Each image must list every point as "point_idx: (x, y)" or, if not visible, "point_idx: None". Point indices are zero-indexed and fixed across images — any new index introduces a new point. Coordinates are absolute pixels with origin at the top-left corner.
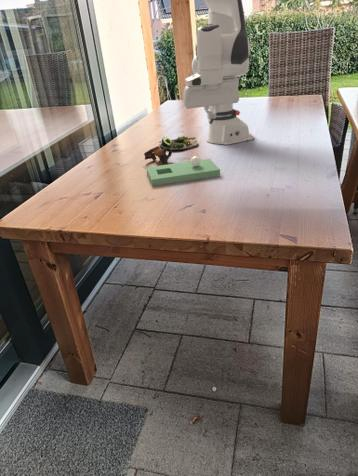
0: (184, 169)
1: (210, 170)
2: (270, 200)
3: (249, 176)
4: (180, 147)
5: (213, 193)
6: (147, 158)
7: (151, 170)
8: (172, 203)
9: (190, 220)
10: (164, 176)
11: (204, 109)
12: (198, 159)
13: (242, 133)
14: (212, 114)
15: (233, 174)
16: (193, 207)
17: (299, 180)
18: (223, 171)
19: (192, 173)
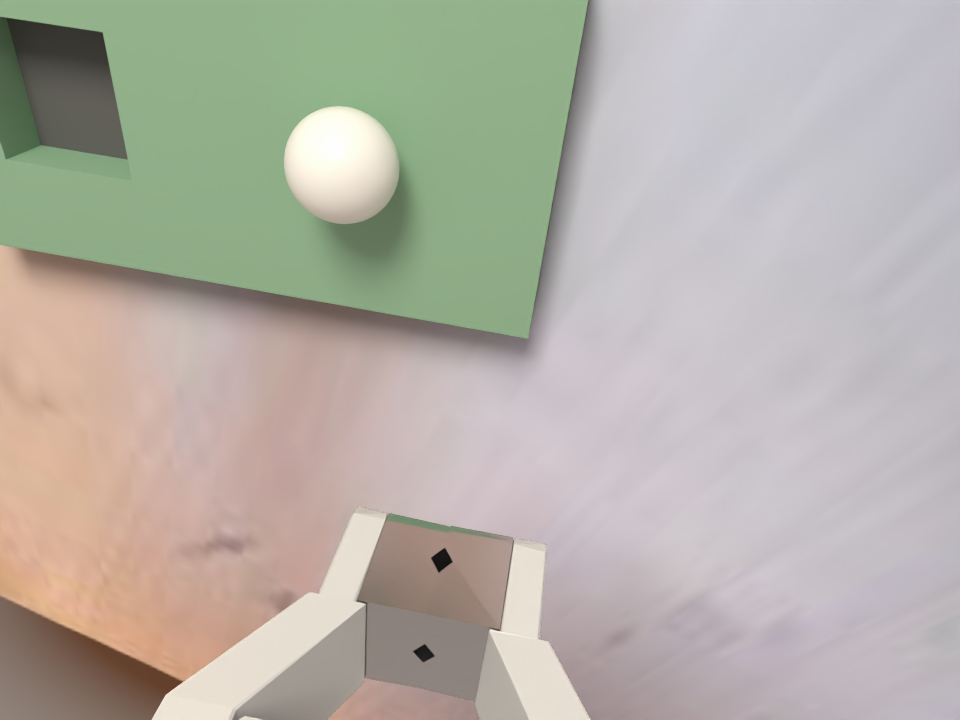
0: (240, 167)
1: (449, 315)
2: (594, 669)
3: (716, 427)
4: None
5: (380, 503)
6: None
7: None
8: (153, 488)
9: (220, 625)
10: (65, 230)
11: (186, 694)
12: (355, 219)
13: None
14: (427, 675)
15: (641, 338)
16: (248, 561)
17: (916, 614)
18: (610, 238)
19: (292, 294)
